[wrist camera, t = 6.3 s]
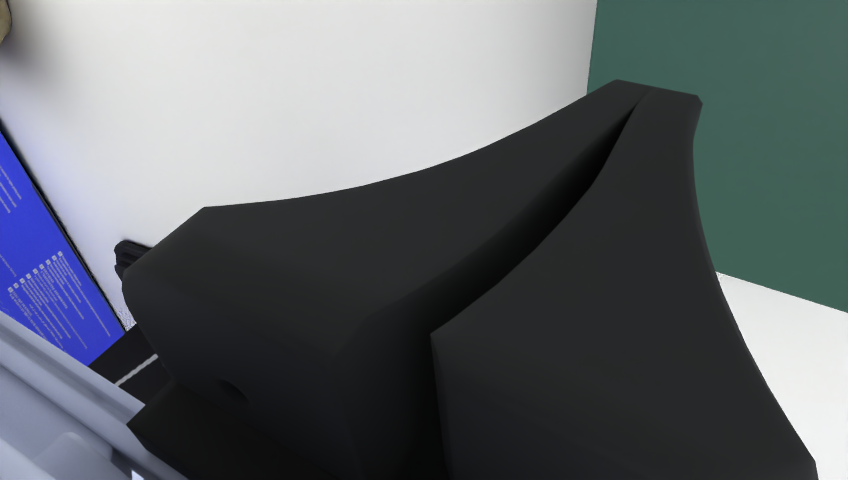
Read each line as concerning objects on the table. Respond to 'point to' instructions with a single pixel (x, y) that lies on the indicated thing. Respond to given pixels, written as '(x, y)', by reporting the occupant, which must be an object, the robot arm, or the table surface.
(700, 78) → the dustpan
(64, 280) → the blue cardboard box
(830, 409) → the table surface
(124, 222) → the table surface
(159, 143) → the table surface
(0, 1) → the ceramic jug
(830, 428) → the table surface
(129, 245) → the award
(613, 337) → the robot arm
